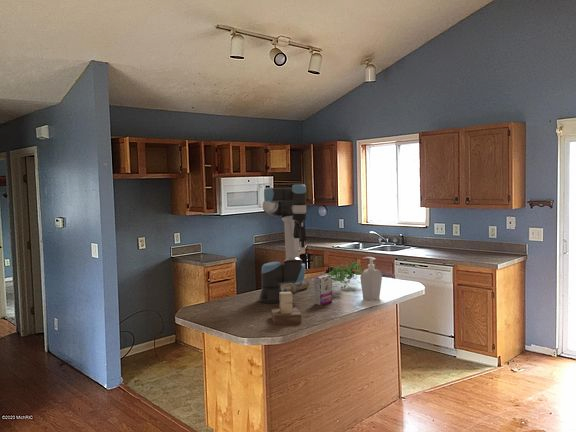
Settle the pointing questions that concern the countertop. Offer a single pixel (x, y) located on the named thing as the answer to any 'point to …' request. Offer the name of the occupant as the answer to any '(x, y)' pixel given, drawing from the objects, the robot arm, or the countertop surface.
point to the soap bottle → (371, 281)
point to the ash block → (286, 302)
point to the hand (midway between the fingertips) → (299, 251)
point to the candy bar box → (323, 289)
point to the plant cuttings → (342, 273)
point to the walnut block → (285, 317)
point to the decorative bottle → (296, 286)
